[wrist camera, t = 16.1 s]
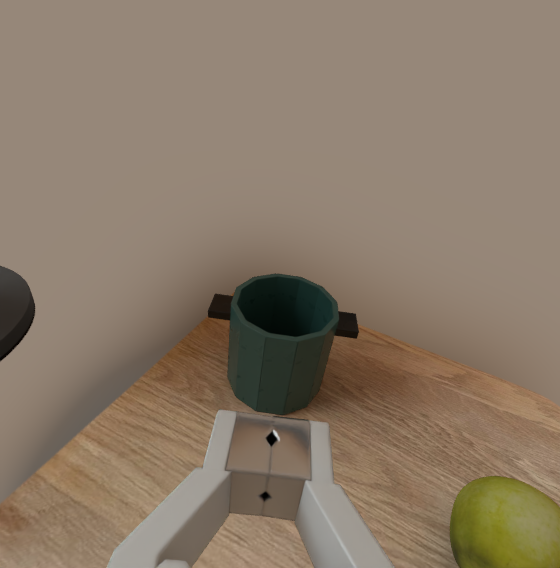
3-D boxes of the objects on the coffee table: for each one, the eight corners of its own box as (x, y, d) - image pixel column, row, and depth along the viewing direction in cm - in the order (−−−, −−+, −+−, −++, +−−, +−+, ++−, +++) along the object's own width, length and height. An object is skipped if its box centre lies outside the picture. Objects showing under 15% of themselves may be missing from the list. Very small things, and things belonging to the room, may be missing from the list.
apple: (550, 554, 28) (613, 511, 24) (522, 664, 23) (597, 633, 18) (459, 481, 33) (498, 433, 28) (416, 558, 27) (456, 513, 23)
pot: (198, 403, 36) (196, 326, 30) (221, 334, 46) (223, 265, 40) (340, 423, 36) (367, 351, 30) (335, 351, 46) (354, 284, 40)
